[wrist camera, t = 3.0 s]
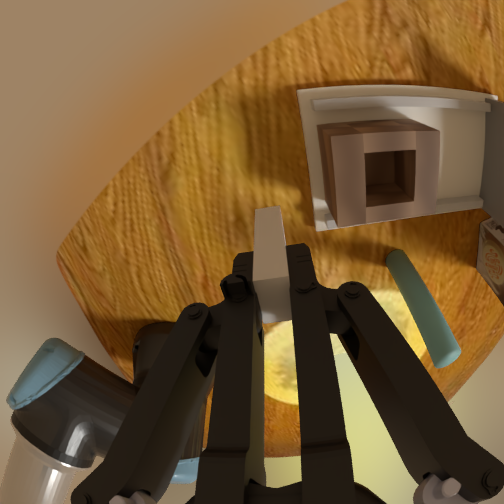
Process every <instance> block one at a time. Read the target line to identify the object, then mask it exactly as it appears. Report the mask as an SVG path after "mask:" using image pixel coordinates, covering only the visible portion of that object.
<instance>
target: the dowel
mask: <svg viewBox="0 0 504 504" xmlns="http://www.w3.org/2000/svg"><path fill="white" fill-rule="evenodd" d="M386 265H387V267H388V269H389V271H390V273H391V275H392V276H393V278H394V280H395V282H396V284H397V286H398V288H399V290H400V292H401V294H402V296H403V298H404V300H405V302H406V304H407V306H408V308H409V310H410V312H411V314H412V316H413V318H414V320H415V322H416V324H417V327H418V329H419V331H420V333H421V335H422V338H423V340H424V342H425V345H426V347H427V349H428V351H429V354H430V356H431V359H432V361H433V364H434V366H435V367H436V368H442V367H445V366H447V365H449V364H451V363H452V362H453V361H455V360H456V359H457V358H458V357H459V355H460V353H461V350H460V348H459V345H458V343H457V341H456V339H455V337H454V335H453V334H452V332H451V330H450V328H449V326H448V324H447V322H446V320H445V318H444V316H443V315H442V313H441V311H440V309H439V307H438V306H437V304H436V302H435V300H434V299H433V297H432V295H431V294H430V292H429V290H428V288H427V287H426V285H425V283H424V282H423V280H422V279H421V277H420V275H419V274H418V272H417V271H416V269H415V267H414V266H413V264H412V263H411V261H410V260H409V258H408V257H407V255H406V254H405V252H404V251H403V250H400V249H398V250H394V251H392V252H391V253H389V255H388V256H387V258H386Z"/></svg>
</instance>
